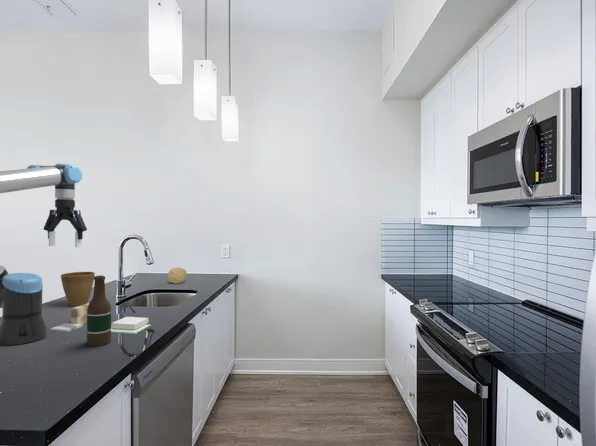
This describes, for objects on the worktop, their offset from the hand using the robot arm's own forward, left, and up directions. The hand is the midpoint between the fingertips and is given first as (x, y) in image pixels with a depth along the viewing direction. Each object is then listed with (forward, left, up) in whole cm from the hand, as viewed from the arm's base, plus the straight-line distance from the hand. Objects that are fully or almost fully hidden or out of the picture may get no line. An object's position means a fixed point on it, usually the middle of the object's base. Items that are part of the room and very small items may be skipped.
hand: (65, 246), depth 166 cm
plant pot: (+20, +10, -32) cm, 39 cm away
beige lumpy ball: (+91, -8, -32) cm, 97 cm away
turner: (-9, -14, -32) cm, 36 cm away
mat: (-12, -38, -31) cm, 51 cm away
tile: (-5, -38, -30) cm, 48 cm away
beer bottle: (-29, -38, -32) cm, 57 cm away
